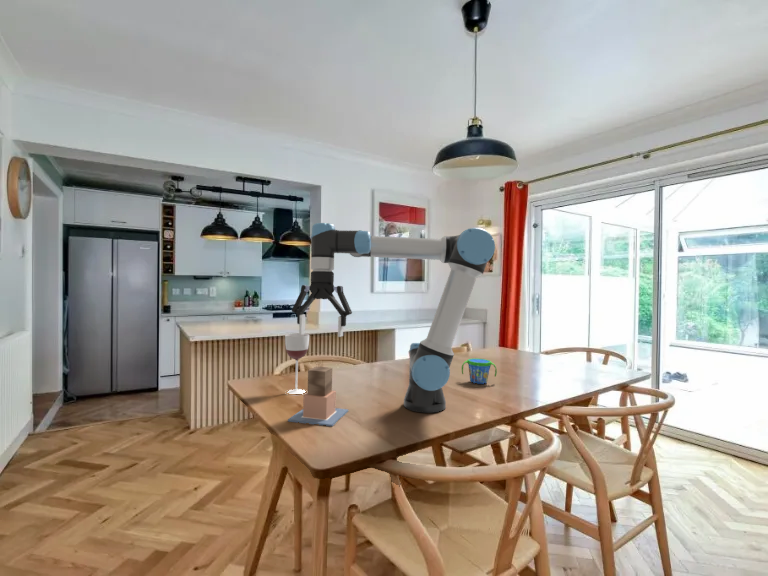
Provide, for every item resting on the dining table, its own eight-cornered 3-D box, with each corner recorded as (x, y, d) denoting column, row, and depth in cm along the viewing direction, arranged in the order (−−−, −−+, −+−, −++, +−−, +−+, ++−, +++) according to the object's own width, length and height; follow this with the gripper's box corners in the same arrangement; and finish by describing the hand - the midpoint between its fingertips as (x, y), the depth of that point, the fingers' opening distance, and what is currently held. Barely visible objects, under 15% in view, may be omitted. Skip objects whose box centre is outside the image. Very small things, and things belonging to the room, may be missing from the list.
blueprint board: (348, 411, 133) (348, 409, 133) (332, 426, 118) (332, 424, 118) (308, 406, 136) (308, 405, 136) (287, 421, 122) (287, 419, 122)
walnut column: (331, 391, 129) (332, 367, 129) (324, 396, 123) (325, 371, 123) (315, 389, 131) (315, 366, 131) (307, 394, 125) (308, 370, 125)
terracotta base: (335, 411, 130) (335, 390, 130) (326, 419, 122) (326, 397, 122) (313, 409, 132) (313, 388, 132) (303, 416, 124) (303, 395, 124)
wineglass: (313, 391, 156) (314, 334, 156) (295, 396, 148) (297, 337, 147) (296, 387, 161) (297, 332, 161) (278, 393, 152) (279, 335, 152)
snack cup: (496, 381, 179) (496, 359, 179) (496, 387, 169) (497, 364, 169) (462, 378, 183) (462, 357, 183) (460, 383, 173) (460, 361, 173)
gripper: (362, 271, 127) (360, 335, 127) (293, 270, 133) (291, 331, 133) (354, 270, 120) (353, 338, 120) (282, 269, 126) (281, 334, 126)
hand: (321, 335), depth 127 cm, fingers open, 13 cm apart
